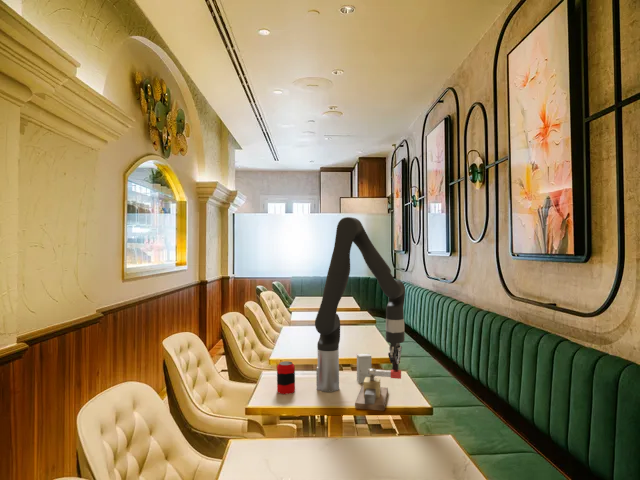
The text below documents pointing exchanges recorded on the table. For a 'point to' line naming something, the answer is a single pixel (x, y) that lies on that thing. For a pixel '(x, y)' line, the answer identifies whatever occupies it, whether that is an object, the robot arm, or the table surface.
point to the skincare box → (363, 366)
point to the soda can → (285, 377)
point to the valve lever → (384, 373)
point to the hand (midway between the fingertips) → (395, 372)
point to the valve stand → (372, 395)
